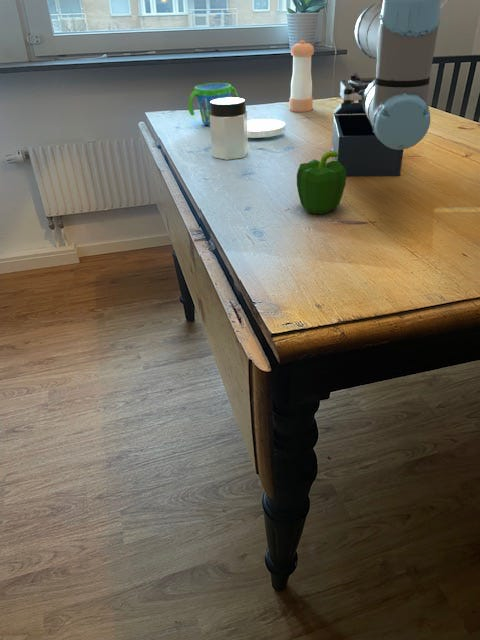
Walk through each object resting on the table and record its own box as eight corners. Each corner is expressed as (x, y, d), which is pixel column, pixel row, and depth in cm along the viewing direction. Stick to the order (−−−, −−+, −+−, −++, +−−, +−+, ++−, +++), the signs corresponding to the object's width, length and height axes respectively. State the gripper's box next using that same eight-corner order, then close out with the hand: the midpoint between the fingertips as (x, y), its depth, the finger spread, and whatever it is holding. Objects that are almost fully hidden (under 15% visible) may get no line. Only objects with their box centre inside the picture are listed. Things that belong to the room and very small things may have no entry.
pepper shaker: (310, 106, 161) (312, 38, 151) (314, 111, 155) (317, 40, 144) (287, 107, 161) (288, 39, 150) (291, 112, 155) (292, 42, 144)
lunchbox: (400, 175, 102) (405, 135, 98) (336, 176, 103) (339, 136, 99) (386, 148, 118) (390, 113, 114) (331, 149, 120) (333, 114, 115)
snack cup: (197, 131, 140) (193, 91, 135) (184, 123, 148) (180, 86, 143) (247, 123, 146) (245, 85, 140) (231, 116, 154) (230, 80, 148)
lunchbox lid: (409, 106, 94) (412, 74, 93) (341, 107, 96) (342, 76, 94) (390, 113, 114) (392, 87, 112) (333, 114, 115) (334, 88, 113)
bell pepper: (291, 216, 87) (292, 158, 81) (301, 199, 93) (302, 144, 88) (339, 220, 85) (344, 160, 79) (346, 202, 91) (351, 146, 85)
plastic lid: (275, 126, 141) (275, 117, 140) (292, 138, 130) (292, 128, 128) (227, 131, 138) (227, 122, 137) (240, 144, 127) (240, 133, 126)
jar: (242, 148, 124) (240, 95, 117) (253, 156, 118) (252, 101, 111) (207, 152, 122) (203, 99, 115) (217, 161, 115) (213, 106, 109)
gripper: (328, 128, 85) (322, 101, 104) (444, 125, 83) (417, 98, 102) (330, 80, 81) (324, 61, 100) (452, 76, 79) (422, 57, 98)
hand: (371, 80), depth 101 cm, fingers closed on lunchbox lid, 6 cm apart
